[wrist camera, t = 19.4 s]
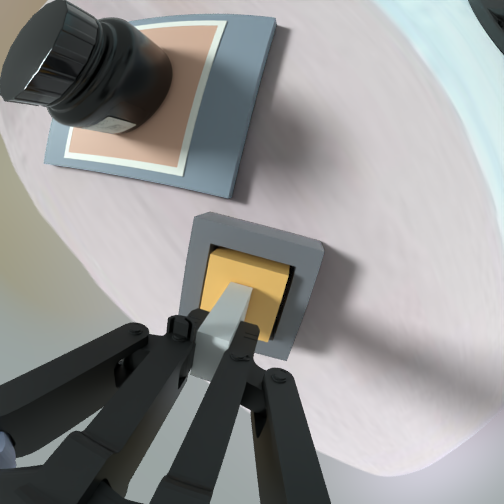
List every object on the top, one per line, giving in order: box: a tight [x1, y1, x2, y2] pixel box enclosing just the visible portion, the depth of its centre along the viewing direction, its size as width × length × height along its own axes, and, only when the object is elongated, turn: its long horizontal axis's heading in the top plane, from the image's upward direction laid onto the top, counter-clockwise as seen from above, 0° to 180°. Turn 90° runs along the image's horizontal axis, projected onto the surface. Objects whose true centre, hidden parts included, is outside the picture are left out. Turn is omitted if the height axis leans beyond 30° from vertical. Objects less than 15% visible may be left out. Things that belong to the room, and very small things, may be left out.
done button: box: [200, 246, 290, 342], centre depth 20 cm, size 5×5×4 cm
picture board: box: [44, 14, 277, 198], centre depth 19 cm, size 22×16×1 cm
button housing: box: [179, 212, 325, 361], centre depth 21 cm, size 9×9×4 cm
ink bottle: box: [0, 0, 173, 134], centre depth 13 cm, size 10×9×12 cm
